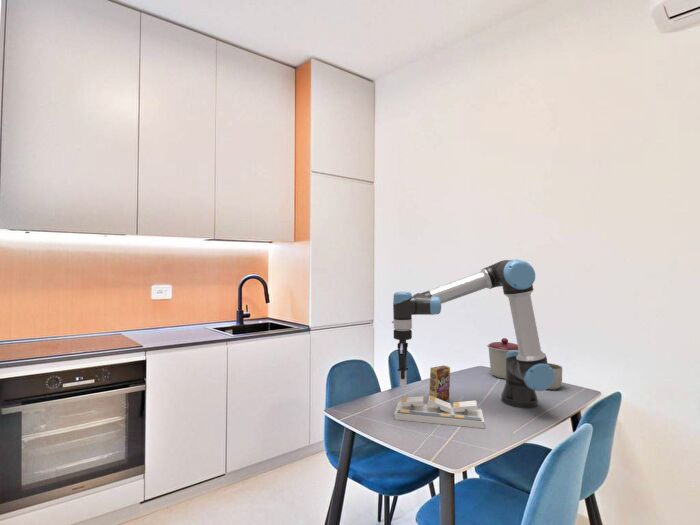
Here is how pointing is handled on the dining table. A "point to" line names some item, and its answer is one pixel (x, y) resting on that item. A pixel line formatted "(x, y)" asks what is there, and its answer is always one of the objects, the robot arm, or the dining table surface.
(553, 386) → the planter
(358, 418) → the dining table surface
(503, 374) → the canister
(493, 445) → the dining table surface
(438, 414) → the switch board
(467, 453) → the dining table surface
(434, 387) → the candy box
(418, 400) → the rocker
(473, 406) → the rocker
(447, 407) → the rocker
